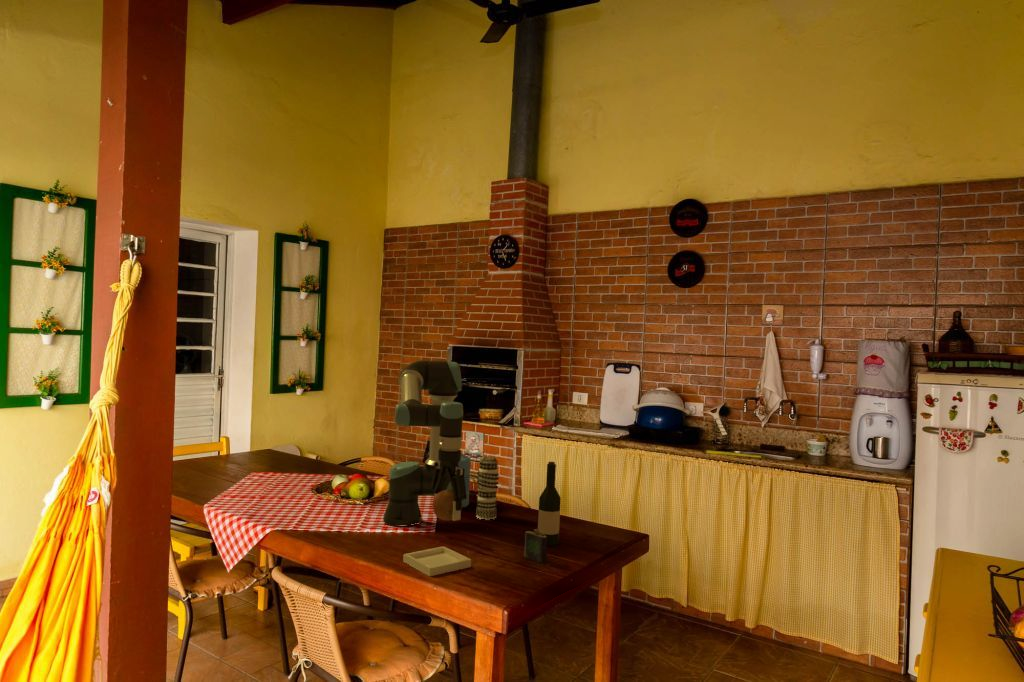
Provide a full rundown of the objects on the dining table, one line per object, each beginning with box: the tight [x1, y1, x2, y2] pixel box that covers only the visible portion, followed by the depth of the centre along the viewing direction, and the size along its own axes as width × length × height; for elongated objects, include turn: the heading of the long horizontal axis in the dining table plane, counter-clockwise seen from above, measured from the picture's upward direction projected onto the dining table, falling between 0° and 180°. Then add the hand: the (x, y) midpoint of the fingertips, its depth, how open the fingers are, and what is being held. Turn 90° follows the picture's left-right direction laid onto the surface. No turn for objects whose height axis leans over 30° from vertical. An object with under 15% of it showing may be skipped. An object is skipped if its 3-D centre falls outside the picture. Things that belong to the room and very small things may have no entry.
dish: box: [402, 545, 472, 577], centre depth 226 cm, size 16×16×2 cm
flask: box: [523, 528, 547, 564], centre depth 236 cm, size 9×3×11 cm, turn 48°
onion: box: [432, 490, 463, 521], centre depth 228 cm, size 10×10×10 cm
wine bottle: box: [537, 461, 562, 546], centre depth 255 cm, size 8×8×30 cm
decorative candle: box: [475, 455, 500, 521], centre depth 286 cm, size 9×9×25 cm
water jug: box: [458, 452, 472, 509], centre depth 304 cm, size 16×16×28 cm
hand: (446, 516), depth 228 cm, fingers closed on onion, 10 cm apart
